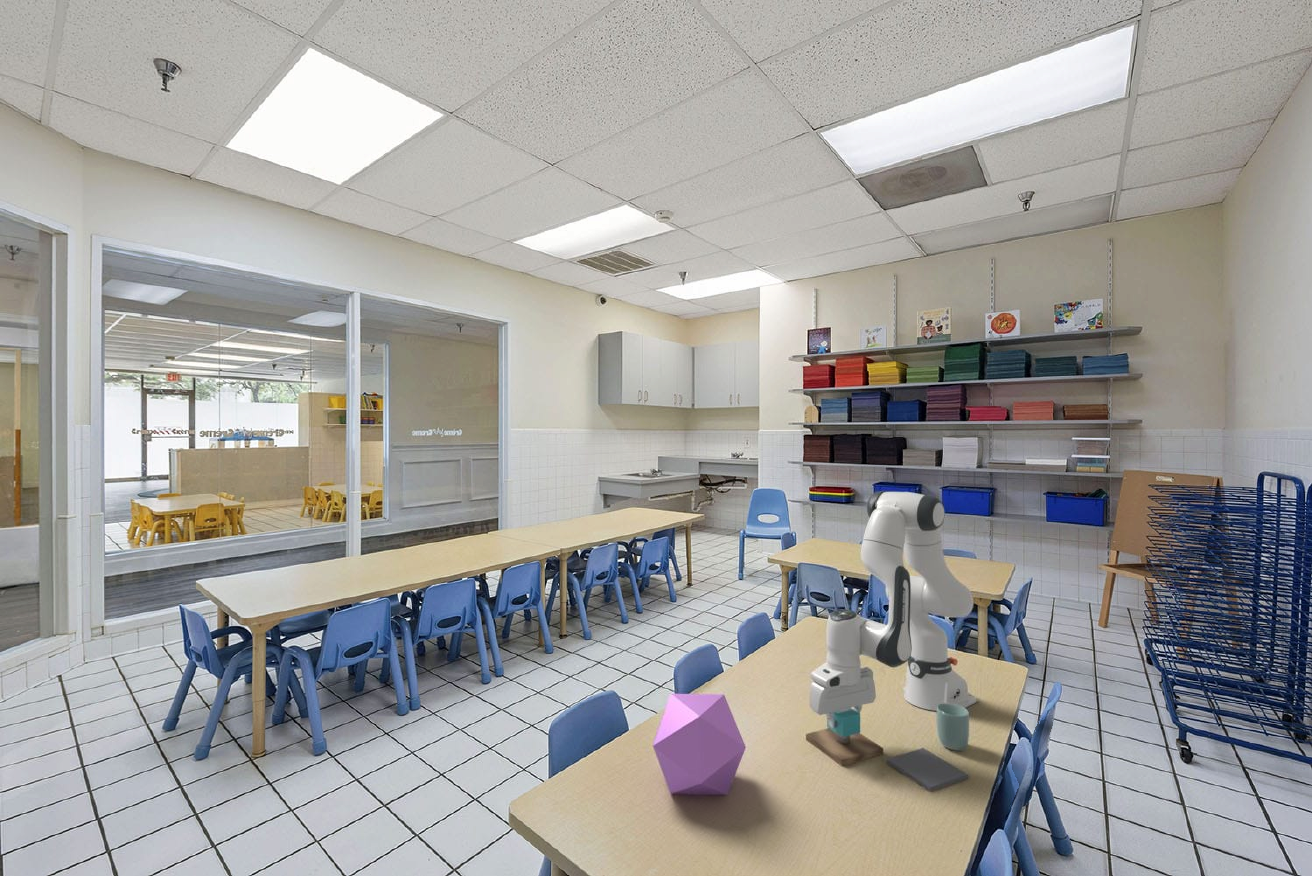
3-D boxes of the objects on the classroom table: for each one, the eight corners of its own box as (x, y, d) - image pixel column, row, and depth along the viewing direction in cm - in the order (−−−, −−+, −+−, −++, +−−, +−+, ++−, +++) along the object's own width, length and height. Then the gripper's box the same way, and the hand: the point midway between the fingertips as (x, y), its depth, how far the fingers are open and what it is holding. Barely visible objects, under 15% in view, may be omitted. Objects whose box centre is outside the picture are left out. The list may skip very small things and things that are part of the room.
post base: (845, 729, 159) (845, 699, 159) (883, 753, 147) (883, 721, 147) (805, 739, 154) (805, 708, 154) (841, 765, 141) (841, 732, 141)
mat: (923, 751, 148) (923, 747, 148) (967, 778, 136) (967, 774, 136) (886, 762, 142) (886, 758, 142) (930, 791, 130) (930, 787, 130)
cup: (966, 741, 152) (966, 705, 153) (972, 756, 145) (971, 718, 145) (934, 737, 155) (934, 700, 155) (939, 751, 148) (938, 713, 148)
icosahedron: (655, 721, 150) (654, 669, 135) (734, 722, 149) (741, 670, 135) (653, 815, 132) (651, 768, 117) (743, 817, 131) (752, 770, 117)
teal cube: (844, 722, 154) (844, 703, 154) (860, 732, 149) (860, 712, 149) (827, 726, 152) (827, 707, 152) (842, 737, 146) (842, 717, 146)
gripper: (863, 661, 157) (864, 710, 157) (805, 673, 149) (806, 725, 149) (881, 669, 152) (881, 721, 151) (821, 682, 143) (821, 736, 143)
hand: (843, 723), depth 150 cm, fingers closed on teal cube, 6 cm apart
